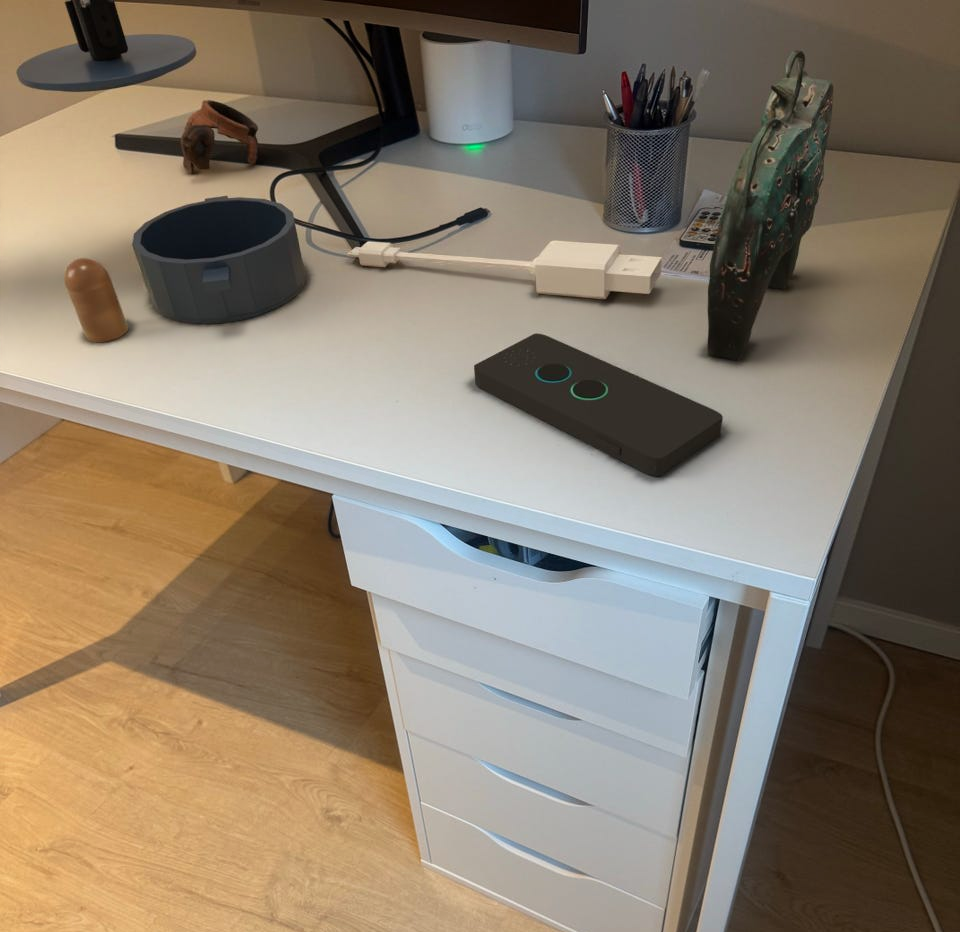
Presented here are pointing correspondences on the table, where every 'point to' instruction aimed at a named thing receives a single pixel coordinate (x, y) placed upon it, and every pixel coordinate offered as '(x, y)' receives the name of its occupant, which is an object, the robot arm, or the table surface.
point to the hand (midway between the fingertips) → (104, 49)
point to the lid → (106, 63)
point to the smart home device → (599, 403)
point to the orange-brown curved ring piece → (201, 135)
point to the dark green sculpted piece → (768, 207)
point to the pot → (220, 259)
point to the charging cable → (549, 267)
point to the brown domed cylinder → (95, 300)
